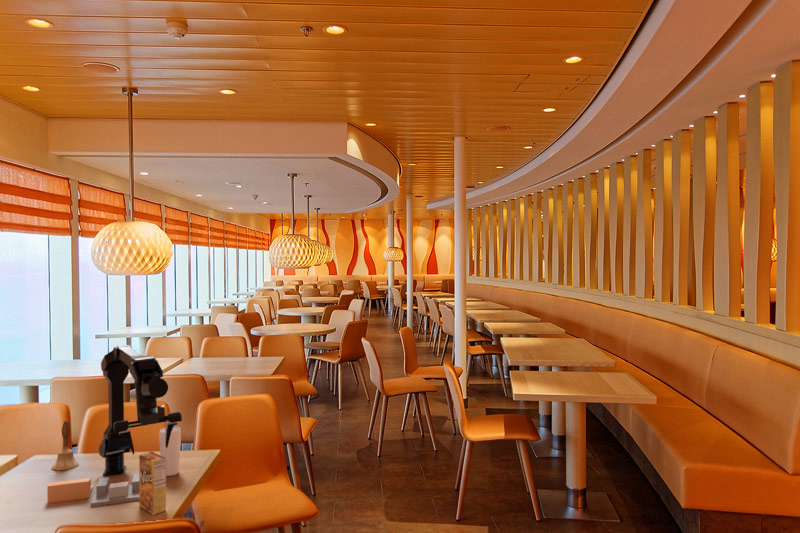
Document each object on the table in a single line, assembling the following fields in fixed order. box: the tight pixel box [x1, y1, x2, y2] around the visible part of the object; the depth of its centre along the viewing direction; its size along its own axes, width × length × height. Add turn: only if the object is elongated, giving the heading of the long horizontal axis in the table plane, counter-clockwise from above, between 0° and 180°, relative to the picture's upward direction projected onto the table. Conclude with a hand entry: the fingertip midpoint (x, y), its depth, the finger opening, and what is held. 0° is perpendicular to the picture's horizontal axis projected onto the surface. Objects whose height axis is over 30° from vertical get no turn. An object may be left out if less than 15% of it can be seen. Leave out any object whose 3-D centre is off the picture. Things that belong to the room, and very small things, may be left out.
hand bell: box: [51, 420, 80, 471], centre depth 200 cm, size 8×8×16 cm
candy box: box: [138, 451, 167, 516], centre depth 165 cm, size 9×4×15 cm, turn 50°
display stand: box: [90, 473, 139, 508], centre depth 175 cm, size 12×14×4 cm
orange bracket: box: [46, 477, 94, 504], centre depth 175 cm, size 8×11×5 cm
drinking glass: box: [158, 426, 182, 477], centre depth 193 cm, size 7×7×15 cm
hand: (150, 450), depth 172 cm, fingers open, 9 cm apart
